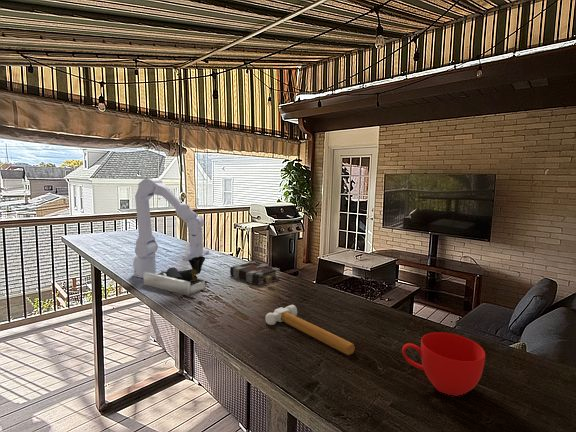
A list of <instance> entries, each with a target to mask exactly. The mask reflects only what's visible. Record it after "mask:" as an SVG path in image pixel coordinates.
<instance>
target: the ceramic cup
mask: <svg viewBox="0 0 576 432" xmlns="http://www.w3.org/2000/svg"><path fill="white" fill-rule="evenodd" d="M408 348H411V349H415V350H416V351H417V352H418V353H419V355H420V358H421V364H420V363H418V362H415V361H414V360H412V358H409V357H408V355H407V353H406V350H407V349H408ZM401 352H402V356H403V358H404V359H405V361H406V362H407V363H409V364H410V365H412V366H413V367H415V368H417V369H419V370H422V371H424V374H425V376H426V377H427V379H428V380H429V382H430V383H431V384H432V386H433V387H434V388H435V390H437V391H438V392H439V393H441V392H442V393H441V394H443V393H445V394H444V395H446V394H448V395H447V396H449V395H454V396H458V395H462V396H463V394H464V395H465V394H467V393H468V392H470V391H472V390H473V389H475V387H476V386H477V385H478V383H479V382H480V380H481V378H482V375H483V372H484V367H485V362H486V352H485V350H484V348H483V347H482V346H481V345H480V344H478V343H477V342H475V341H473V340H472V339H469V338H467V337H465V336H461V335H458V334H455V333H449V332H439V331H438V332H430V333H426V334H424V335H423V336H422V337H421V340H420V346H418V345H416V344H414V343H410V342H408V343H405V344H404V345H403V346H402V348H401ZM454 396H453V397H454ZM458 397H459V396H458Z"/></svg>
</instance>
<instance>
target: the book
mask: <svg viewBox="0 0 576 432" xmlns="http://www.w3.org/2000/svg"><path fill="white" fill-rule="evenodd" d="M277 272H280V268H278V267H272V266H270V265H268V264H265V263H258V262H257V261H254V260H252V261H249V262H246V263H242V264H235V265H232V266H230V269H229V274H230V276H231V277H233V278H235V279H237V280H238V279H239V280H243V281H245V282H247V283H248V284H249V283H250V284H253V285H261V284H264V283H267V284H268V283H272V284H274V283H275V280H278V279H280V275H278V274H276V273H277Z"/></svg>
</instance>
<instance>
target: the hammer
mask: <svg viewBox="0 0 576 432" xmlns="http://www.w3.org/2000/svg"><path fill="white" fill-rule="evenodd" d="M265 322H266V324H267V325H270V326H274V325H276V323H277V322H279V323H282V322H284V323H285V324H287V325H289V326H291V327H292V328H295V329H296V330H299V331H300V332H302V333H304V334H305V335H308V336H309V337H312V338H313V339H315V340H317V341H320V342H321V343H323V344H325V345H327V346H329V347H331V348H333V349H335V350H336V351H338V352H341V353H343V354H344V355H347V356H350V355H353V354H354V352H355V344H354V343H352V342H351V341H348V340H346V339H345V338H342V337H340V336H338V335H336V334H334V333H331V332H330V331H327V330H325V329H324V328H322V327H320V326H318V325H316V324H313V323H311V322H309V321H306V320H305V319H302V318H300V317H298V308H297V307H296V305H294V304H290V305H287V306H285V307H283V306H281V307H278V308H275V309H274V311H273V312H268V313H266V315H265Z"/></svg>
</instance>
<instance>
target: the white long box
mask: <svg viewBox="0 0 576 432" xmlns="http://www.w3.org/2000/svg"><path fill="white" fill-rule="evenodd" d="M166 272H167V270H161V271H159V272H156V274H154V273H149V272H144V273H143V276H144V278H143V285H145V286H149V287H154V288H157V289H161V290H164V291H169V292H173V293H176V294H181V295H183V296H187V297H188V296H190V295H192V294H195V293H197V292H200V291H201V290H204V289H206V281H205V280H204V279H203V278H202V279H201V278H198V280H197V281H198V282H196V283H194V284H191V281H189V282H188V281H184V280H180V279H175V278H171V277H167V275H164V274H166Z"/></svg>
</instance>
